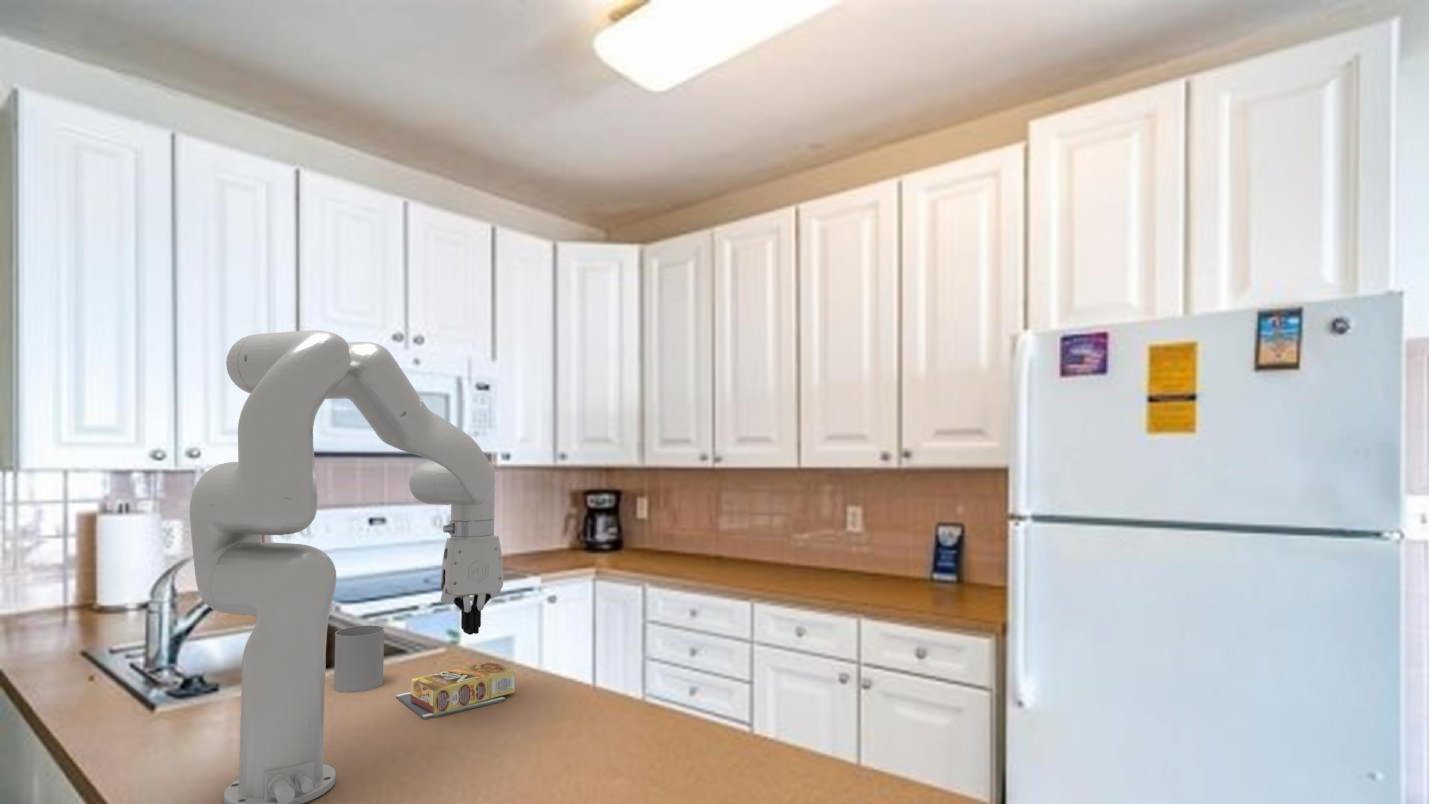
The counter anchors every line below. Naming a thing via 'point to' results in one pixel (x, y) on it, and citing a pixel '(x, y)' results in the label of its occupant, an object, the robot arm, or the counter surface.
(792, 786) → the counter surface
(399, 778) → the counter surface
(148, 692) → the counter surface
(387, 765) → the counter surface
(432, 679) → the candy box
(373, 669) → the cup
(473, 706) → the mat
